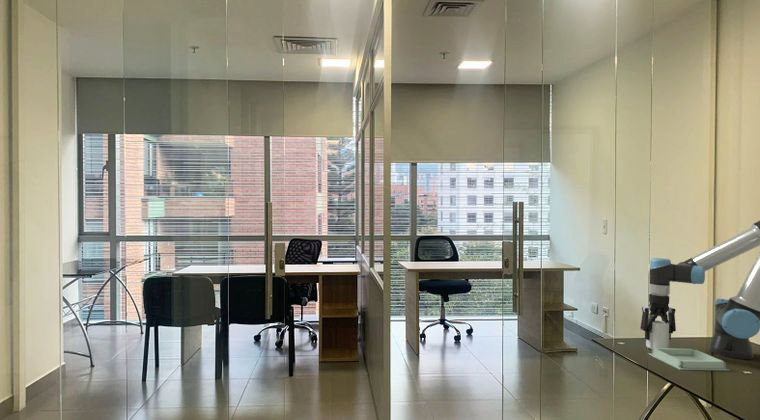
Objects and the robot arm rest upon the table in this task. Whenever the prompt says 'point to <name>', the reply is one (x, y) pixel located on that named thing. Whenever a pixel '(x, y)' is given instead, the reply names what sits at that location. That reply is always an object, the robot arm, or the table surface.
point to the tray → (688, 359)
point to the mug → (660, 334)
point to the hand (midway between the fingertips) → (657, 347)
